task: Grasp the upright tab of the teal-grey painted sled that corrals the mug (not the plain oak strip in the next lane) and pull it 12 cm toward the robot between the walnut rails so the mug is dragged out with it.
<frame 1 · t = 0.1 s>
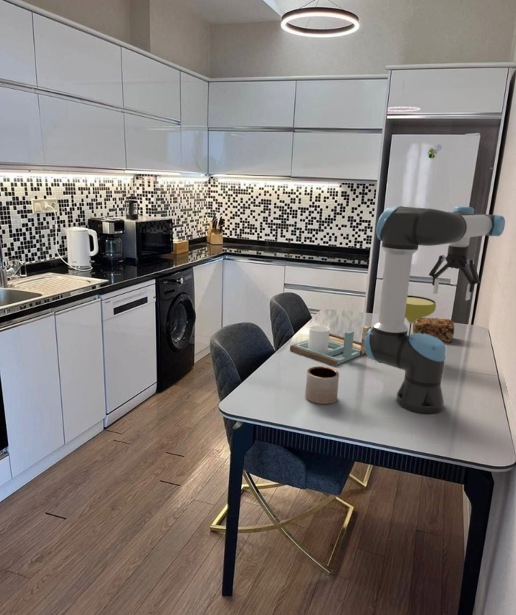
hand: (451, 296, 198), 28 cm above the table, fingers open, 13 cm apart
sled: (327, 339, 205), point 6 cm above the table, slide at 0.0 cm
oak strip: (346, 333, 215), point 6 cm above the table, slide at 0.0 cm
lane rails: (331, 350, 210), on the table
planter: (320, 398, 163), on the table
mug: (319, 351, 209), resting in sled
bread: (431, 338, 235), on the table
cocktail glass: (406, 355, 208), on the table
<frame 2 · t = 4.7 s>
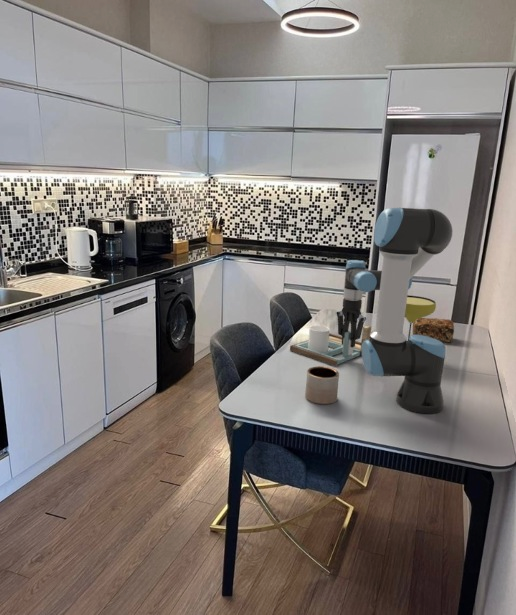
hand: (347, 353, 199), 3 cm above the table, fingers closed on sled, 2 cm apart
sled: (327, 339, 205), point 6 cm above the table, slide at 0.0 cm, touching gripper
everything else where it was.
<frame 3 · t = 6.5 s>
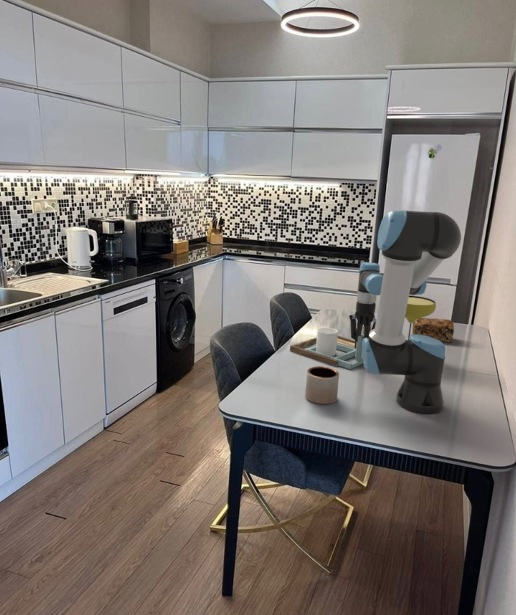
hand: (360, 357, 195), 3 cm above the table, fingers closed on sled, 2 cm apart
sled: (340, 343, 201), point 6 cm above the table, slide at 6.3 cm, touching gripper, mug
mug: (327, 353, 207), resting in sled
everything else where it was.
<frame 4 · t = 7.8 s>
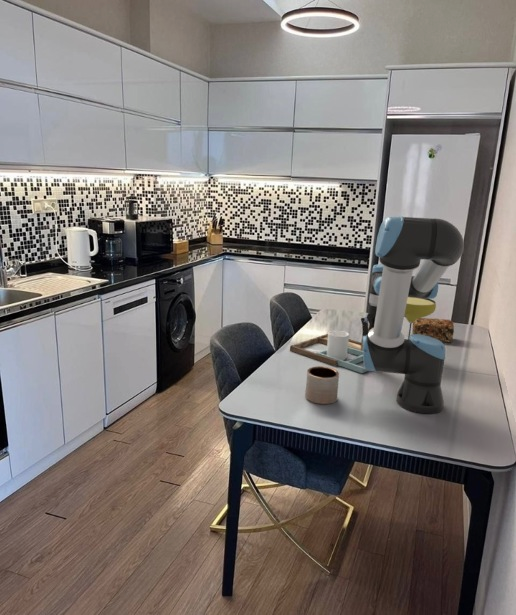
hand: (372, 361, 191), 3 cm above the table, fingers closed on sled, 2 cm apart
sled: (351, 346, 197), point 6 cm above the table, slide at 11.9 cm, touching gripper, mug
mug: (338, 356, 203), resting in sled
everything else where it was.
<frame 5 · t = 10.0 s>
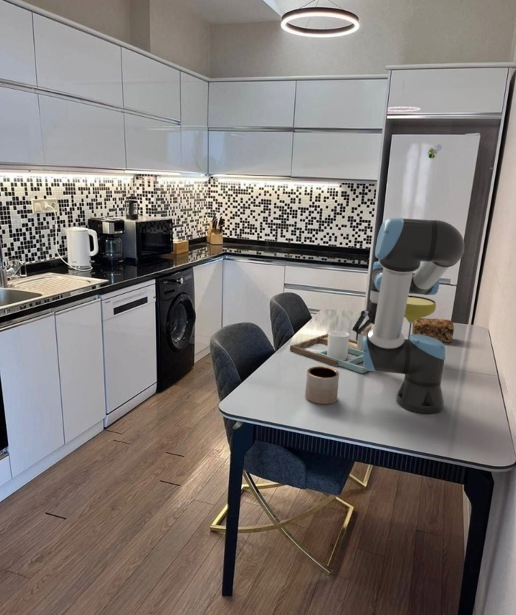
hand: (373, 353, 190), 6 cm above the table, fingers open, 13 cm apart
sled: (351, 346, 197), point 6 cm above the table, slide at 12.0 cm
mug: (338, 357, 203), resting in sled
everything else where it was.
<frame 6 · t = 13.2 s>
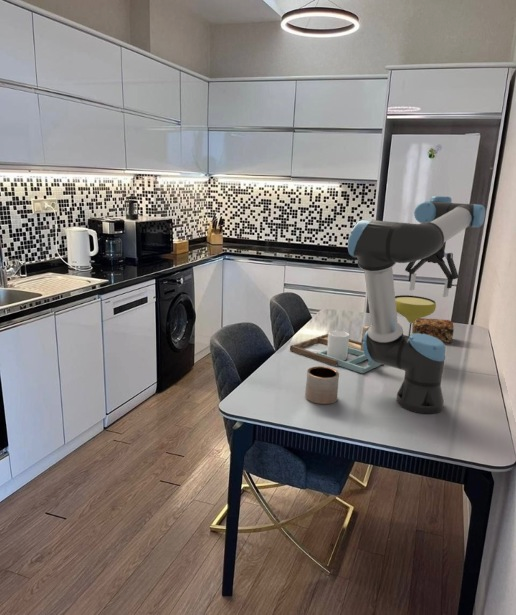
hand: (428, 293, 184), 32 cm above the table, fingers open, 13 cm apart
at the end: sled slide at 12.0 cm; mug moved 9.5 cm from its start; mug tilted 0° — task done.
